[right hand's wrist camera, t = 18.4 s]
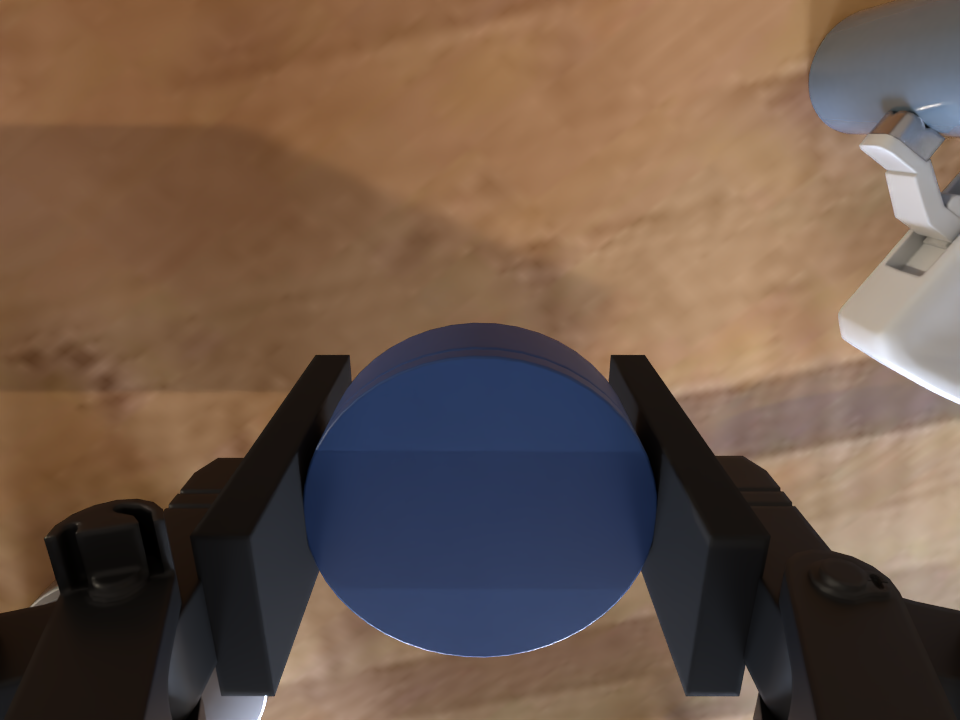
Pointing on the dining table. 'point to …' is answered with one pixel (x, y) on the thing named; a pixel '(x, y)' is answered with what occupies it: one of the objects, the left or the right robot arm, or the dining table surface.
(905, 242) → the left robot arm
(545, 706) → the dining table surface
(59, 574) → the right robot arm
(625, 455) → the lid
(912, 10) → the jar
